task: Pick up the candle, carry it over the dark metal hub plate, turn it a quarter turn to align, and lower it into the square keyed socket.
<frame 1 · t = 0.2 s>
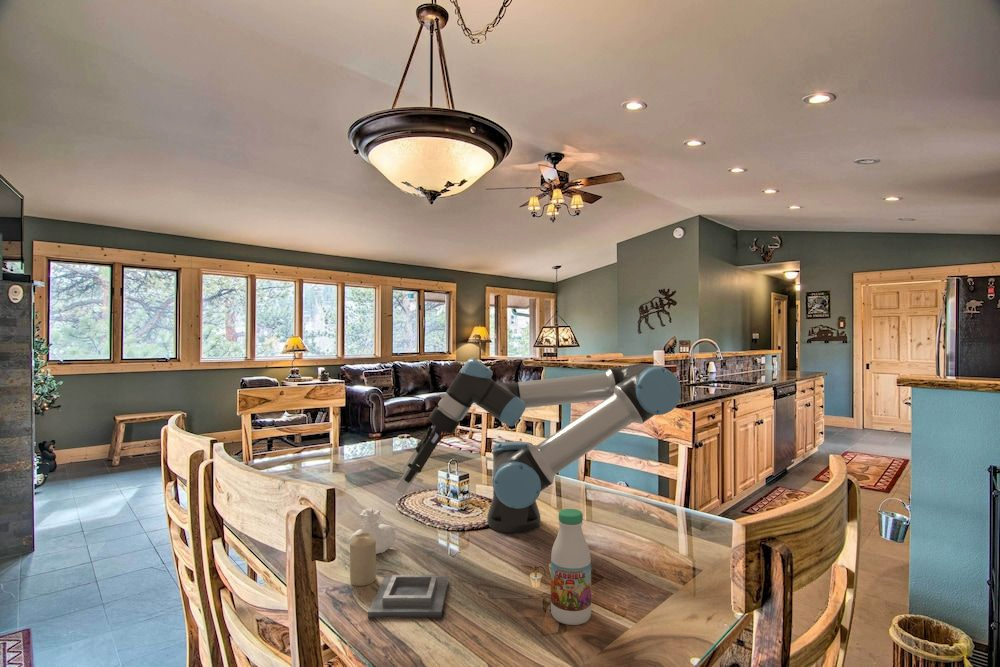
hand: (402, 481, 133), 16 cm above the table, tool tilted 35°, fingers open, 13 cm apart
hub plate: (411, 598, 106), on the table
milk bottle: (570, 616, 100), on the table
white animal figurine: (371, 551, 129), on the table
candle: (363, 581, 114), on the table
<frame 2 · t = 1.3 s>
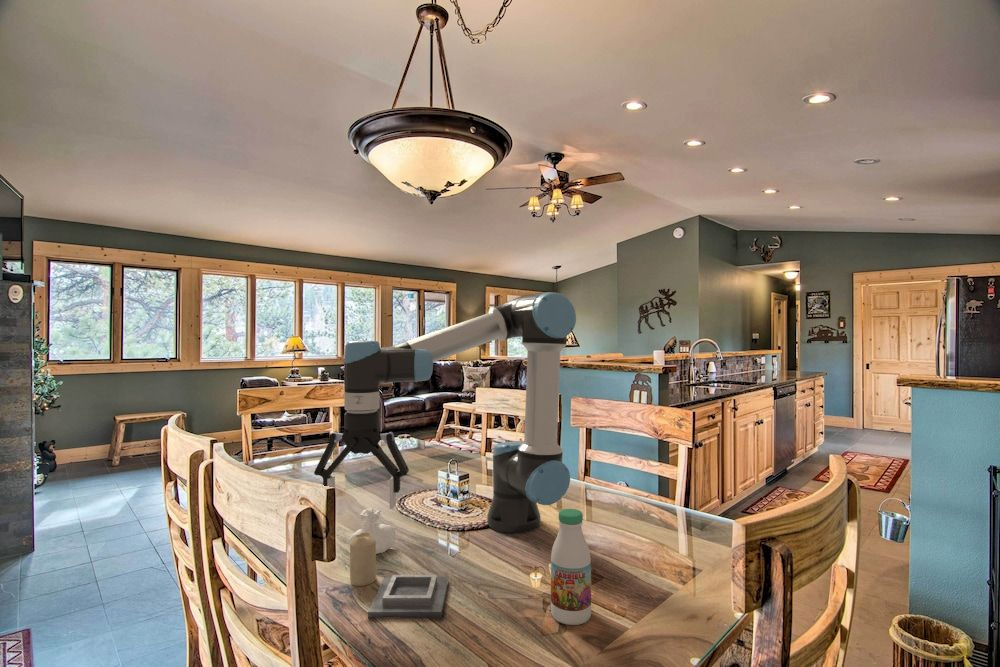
hand: (361, 507, 114), 16 cm above the table, tool pointing down, fingers open, 13 cm apart
nothing on the table moved.
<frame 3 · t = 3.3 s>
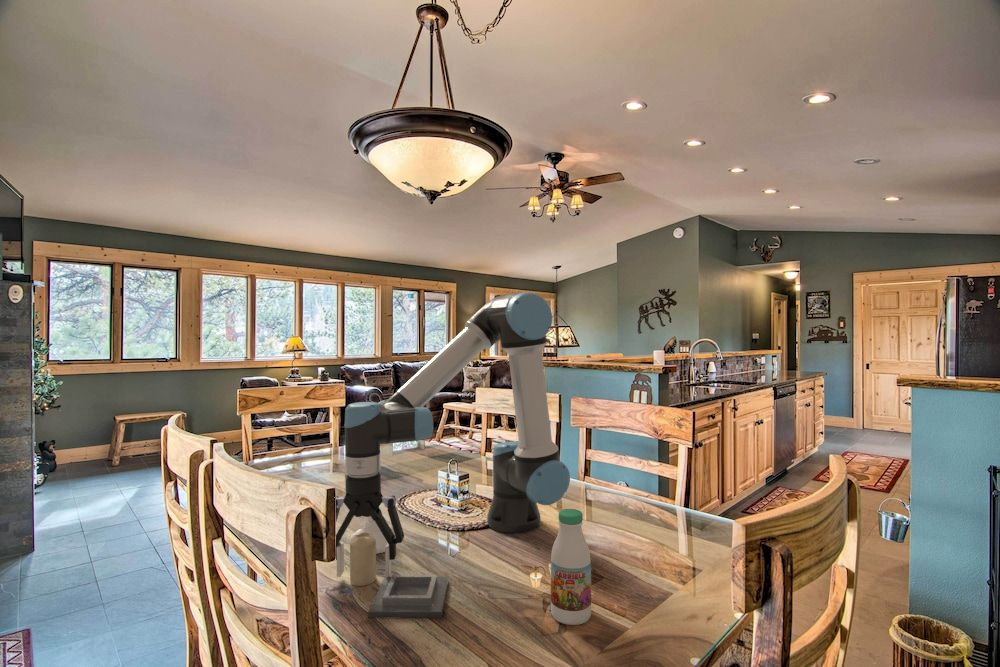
hand: (364, 573, 114), 1 cm above the table, tool pointing down, fingers open, 10 cm apart
nothing on the table moved.
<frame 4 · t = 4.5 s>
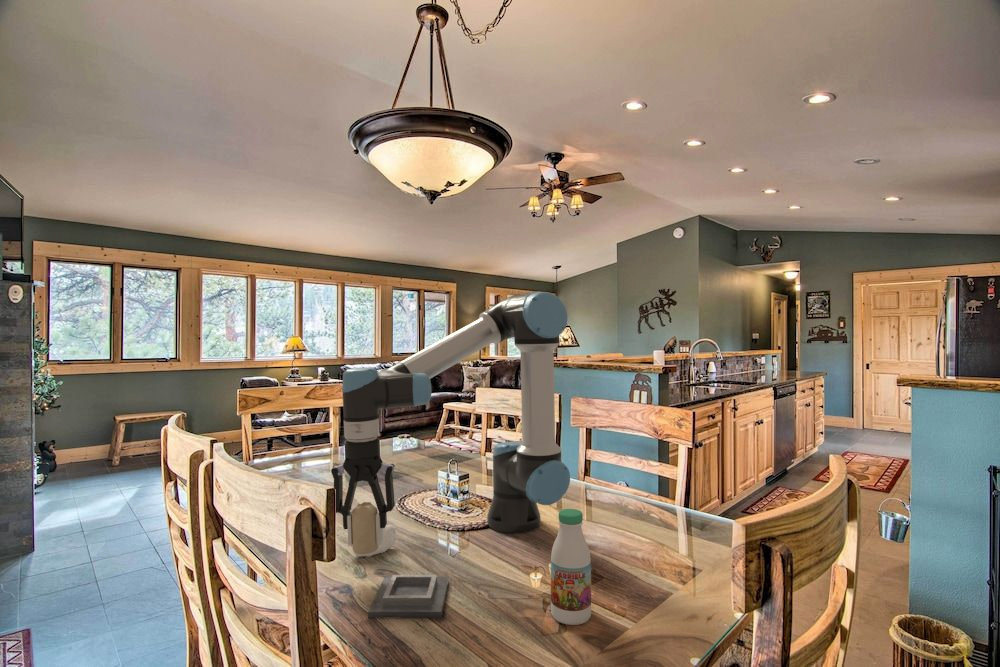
hand: (365, 542, 114), 8 cm above the table, tool pointing down, fingers closed on candle, 5 cm apart
candle: (365, 549, 114), point 7 cm above the table, touching gripper
everything else where it was.
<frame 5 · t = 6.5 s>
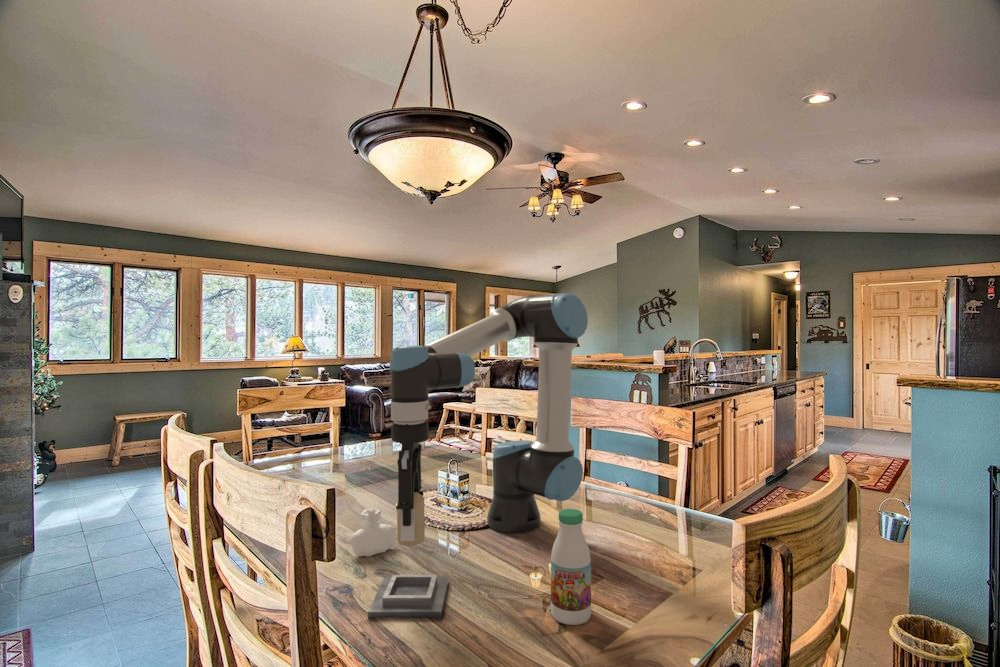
hand: (410, 533, 106), 13 cm above the table, tool pointing down, fingers closed on candle, 5 cm apart
candle: (411, 541, 106), point 12 cm above the table, touching gripper
everything else where it was.
when the fingers open (3 cm above the table, at t = 8.9 s): candle stays where it is, resting on hub plate.
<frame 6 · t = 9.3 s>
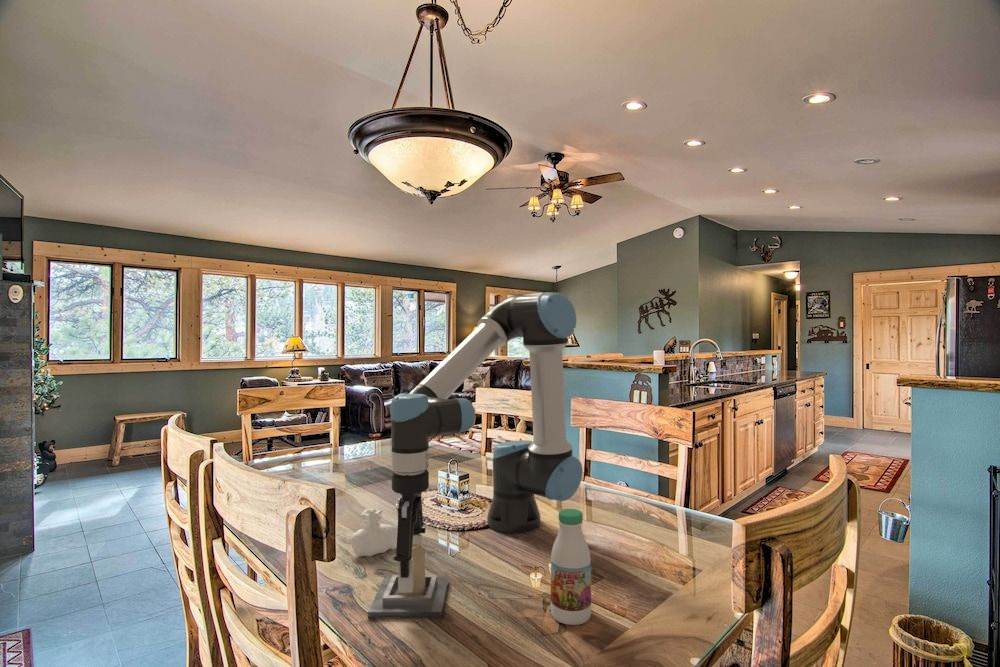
hand: (410, 577, 106), 4 cm above the table, tool pointing down, fingers open, 10 cm apart
candle: (411, 593, 106), point 1 cm above the table, touching hub plate
everything else where it was.
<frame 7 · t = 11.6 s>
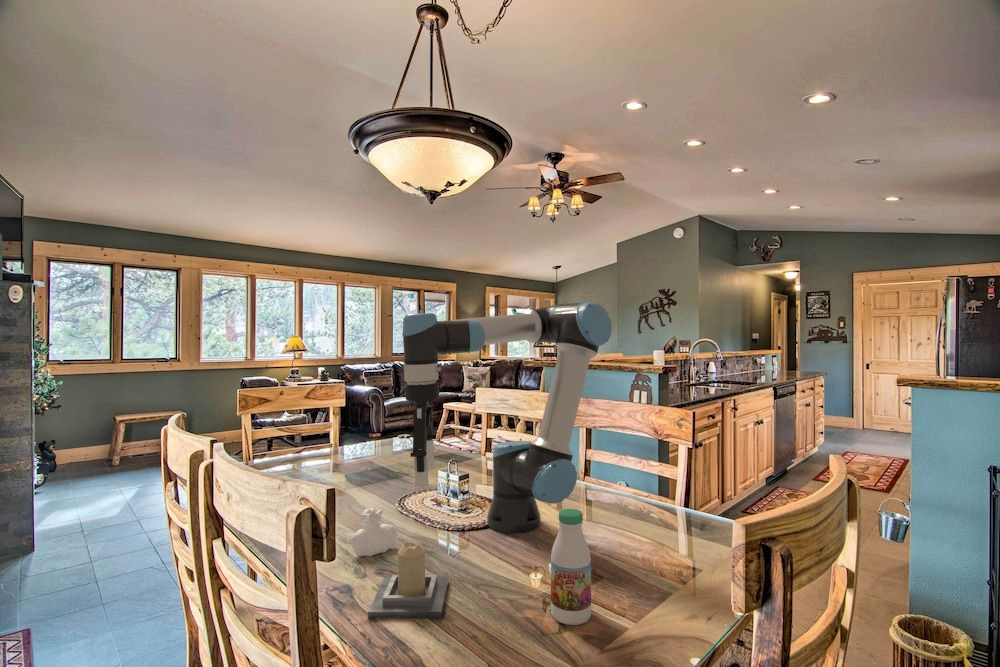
hand: (425, 476, 116), 22 cm above the table, tool pointing down, fingers open, 13 cm apart
nothing on the table moved.
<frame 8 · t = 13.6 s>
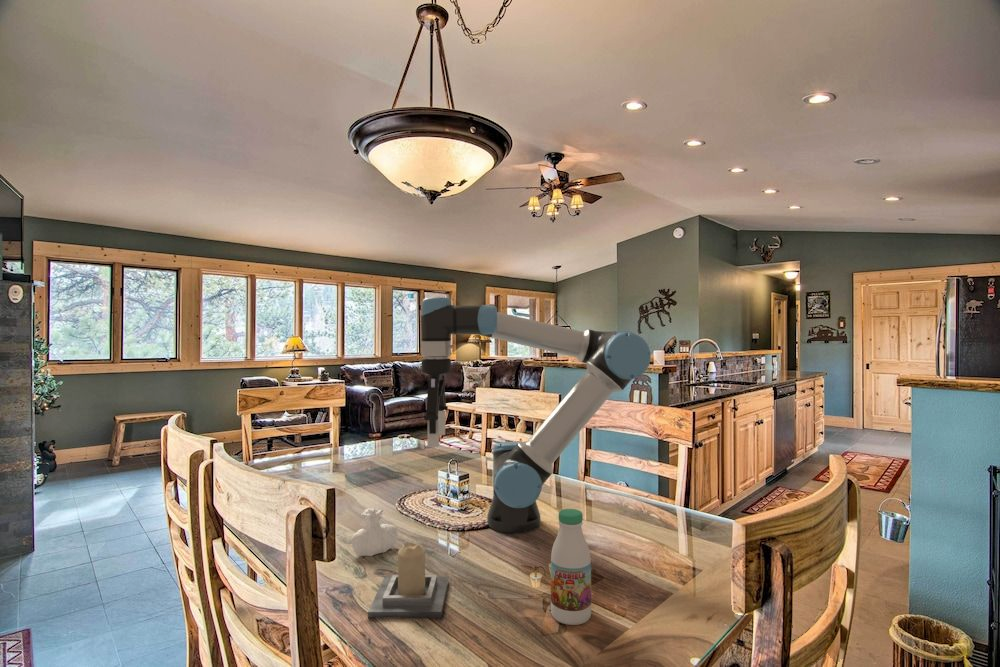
hand: (436, 440, 133), 27 cm above the table, tool pointing down, fingers open, 13 cm apart
nothing on the table moved.
at the end: candle 0.1 cm off-centre on the hub plate, point 1.0 cm above the hub plate's base; candle tilted 0°; the gripper is holding nothing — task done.
